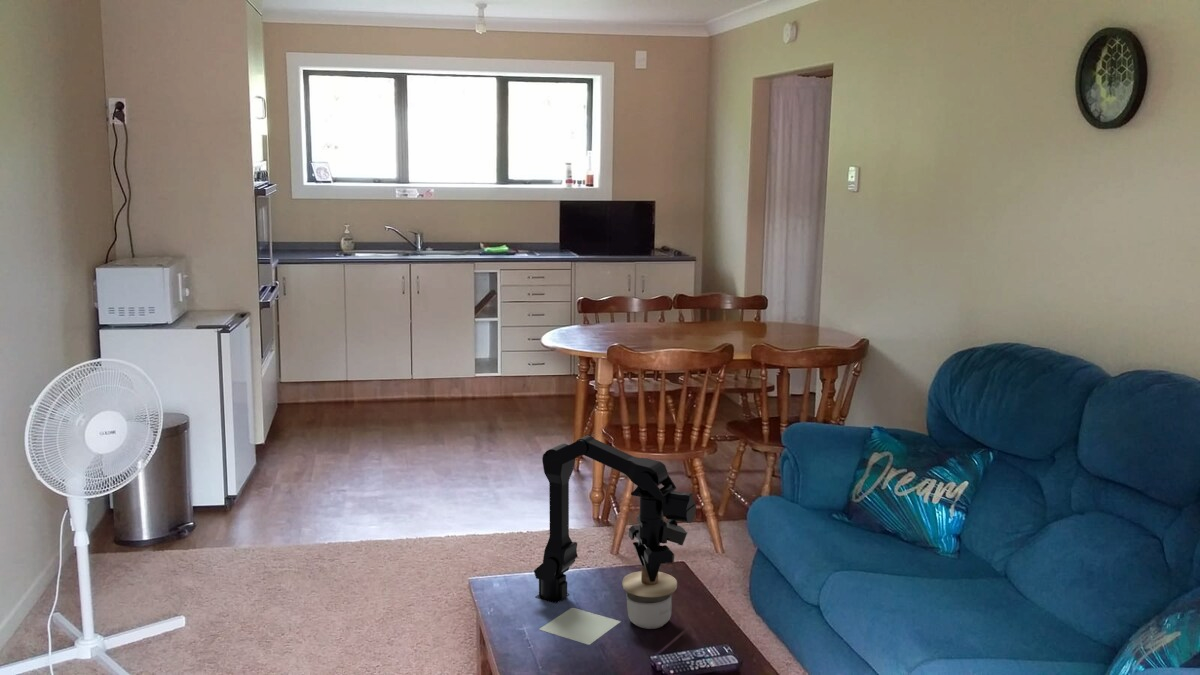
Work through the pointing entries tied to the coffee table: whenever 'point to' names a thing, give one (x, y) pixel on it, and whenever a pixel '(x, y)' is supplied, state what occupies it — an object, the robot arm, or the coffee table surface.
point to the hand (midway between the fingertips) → (649, 577)
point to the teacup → (649, 610)
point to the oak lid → (649, 584)
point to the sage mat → (580, 626)
